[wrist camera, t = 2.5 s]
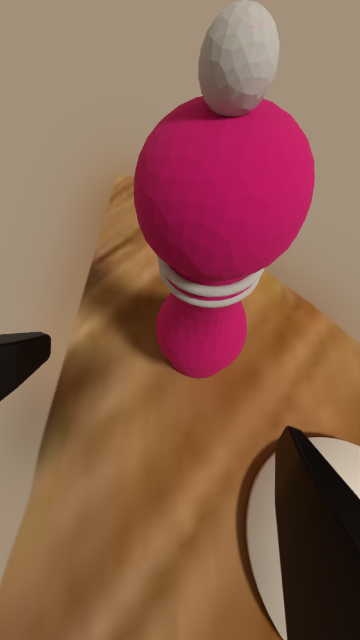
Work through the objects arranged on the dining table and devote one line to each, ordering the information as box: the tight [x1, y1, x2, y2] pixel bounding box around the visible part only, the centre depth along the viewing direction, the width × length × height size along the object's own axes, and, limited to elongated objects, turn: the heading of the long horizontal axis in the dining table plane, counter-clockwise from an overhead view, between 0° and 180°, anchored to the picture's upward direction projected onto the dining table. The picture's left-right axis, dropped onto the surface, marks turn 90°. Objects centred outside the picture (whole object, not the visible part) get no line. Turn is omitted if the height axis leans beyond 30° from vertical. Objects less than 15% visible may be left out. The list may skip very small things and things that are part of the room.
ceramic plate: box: [246, 437, 360, 640], centre depth 15 cm, size 13×13×1 cm
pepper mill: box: [134, 0, 314, 378], centre depth 13 cm, size 7×7×20 cm
